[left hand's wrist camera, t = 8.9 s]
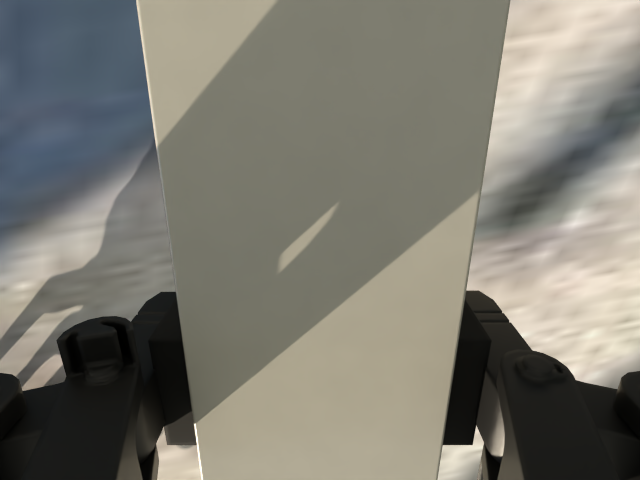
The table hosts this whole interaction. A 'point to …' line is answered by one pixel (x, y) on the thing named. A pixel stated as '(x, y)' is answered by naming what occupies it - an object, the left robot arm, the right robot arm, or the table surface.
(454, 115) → the post
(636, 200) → the table surface
